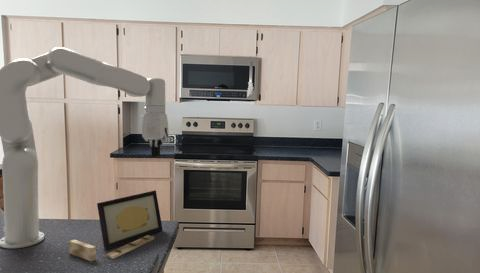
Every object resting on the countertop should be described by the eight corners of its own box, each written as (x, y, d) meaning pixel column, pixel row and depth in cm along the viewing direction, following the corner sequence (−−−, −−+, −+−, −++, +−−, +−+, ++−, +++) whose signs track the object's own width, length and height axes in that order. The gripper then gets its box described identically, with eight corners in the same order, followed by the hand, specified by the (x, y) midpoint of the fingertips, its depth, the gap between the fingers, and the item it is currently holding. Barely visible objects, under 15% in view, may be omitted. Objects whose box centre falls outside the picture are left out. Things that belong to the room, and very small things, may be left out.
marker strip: (106, 256, 104) (106, 253, 104) (147, 237, 120) (147, 234, 120) (113, 258, 102) (113, 255, 102) (154, 239, 118) (154, 236, 118)
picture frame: (106, 250, 108) (103, 203, 108) (91, 245, 113) (88, 201, 113) (163, 230, 126) (160, 190, 126) (147, 227, 132) (145, 189, 131)
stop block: (69, 253, 105) (69, 241, 104) (74, 251, 106) (74, 239, 106) (91, 261, 100) (91, 248, 100) (95, 259, 102) (95, 246, 101)
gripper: (134, 109, 132) (134, 156, 134) (164, 110, 125) (164, 159, 127) (147, 109, 139) (147, 153, 141) (176, 110, 132) (176, 156, 134)
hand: (155, 156), depth 134 cm, fingers closed
